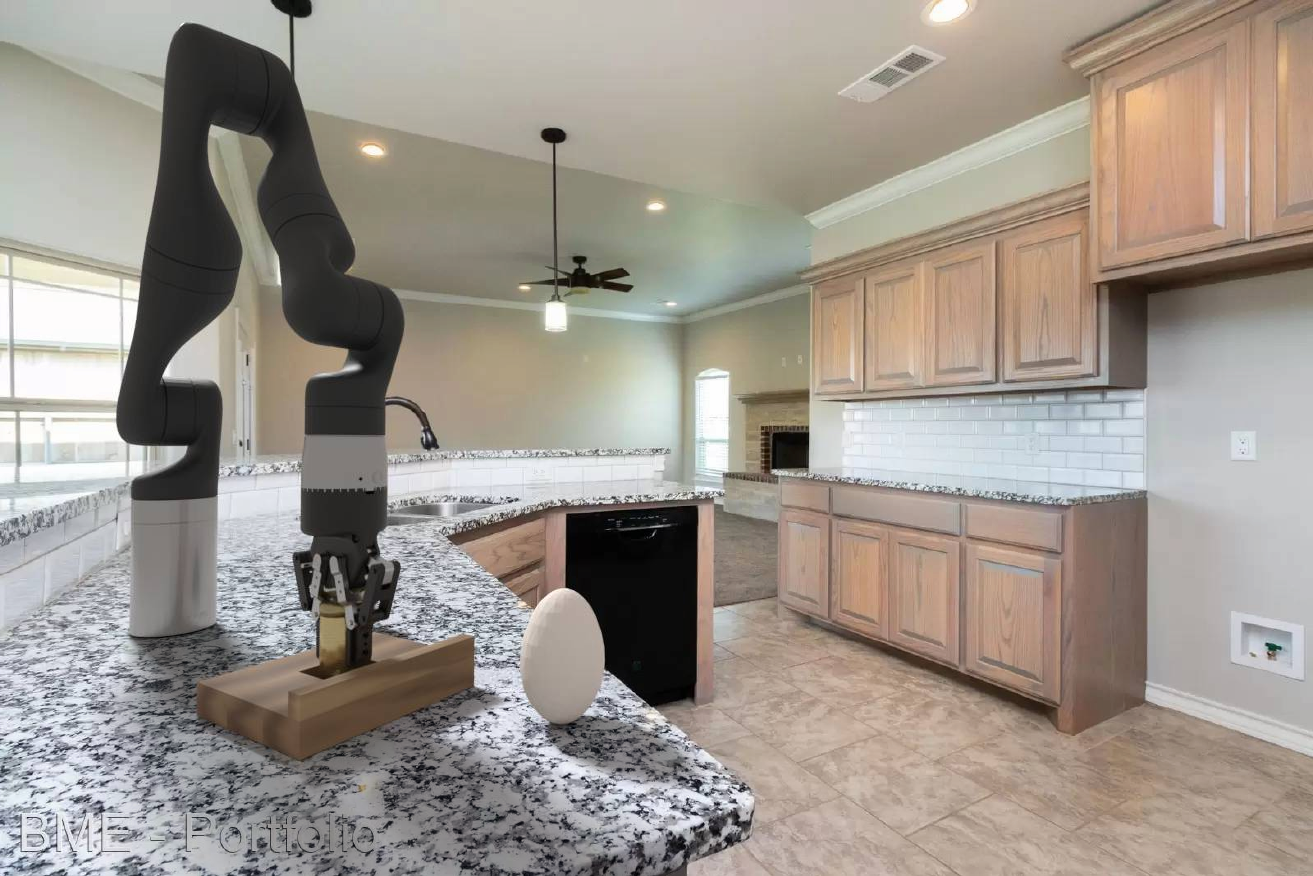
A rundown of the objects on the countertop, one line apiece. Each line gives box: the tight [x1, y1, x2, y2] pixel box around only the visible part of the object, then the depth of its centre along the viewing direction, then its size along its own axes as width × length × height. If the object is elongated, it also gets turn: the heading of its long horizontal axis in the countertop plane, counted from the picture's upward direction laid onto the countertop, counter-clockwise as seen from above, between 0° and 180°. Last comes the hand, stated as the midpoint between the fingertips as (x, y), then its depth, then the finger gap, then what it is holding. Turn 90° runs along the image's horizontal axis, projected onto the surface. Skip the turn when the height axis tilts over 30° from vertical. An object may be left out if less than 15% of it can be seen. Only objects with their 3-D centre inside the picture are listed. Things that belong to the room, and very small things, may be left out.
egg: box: [519, 587, 606, 725], centre depth 57 cm, size 7×7×12 cm
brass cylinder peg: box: [319, 598, 366, 680], centre depth 62 cm, size 4×4×8 cm
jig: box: [196, 631, 476, 761], centre depth 61 cm, size 16×18×5 cm
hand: (343, 660), depth 62 cm, fingers closed on brass cylinder peg, 4 cm apart
